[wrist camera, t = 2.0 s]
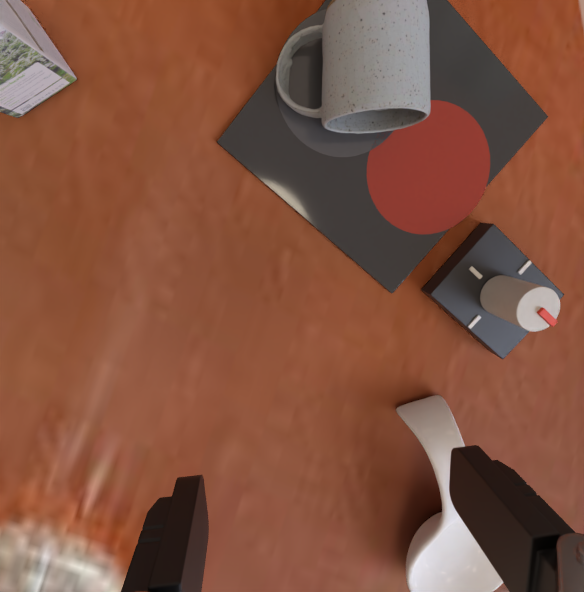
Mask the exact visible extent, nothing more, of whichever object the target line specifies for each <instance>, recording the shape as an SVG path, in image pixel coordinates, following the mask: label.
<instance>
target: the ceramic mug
mask: <svg viewBox="0 0 584 592" xmlns="http://www.w3.org/2000/svg"><path fill="white" fill-rule="evenodd" d="M320 38H322V52H323V71H322V106H321V107H320V108H319V109H310V108H306V107H303V106H300V105H298V104H296V103H294V102H293V100H291V99H290V95H289V74H290V68H291V66H292V59H291V58H292V56H293V54H294V53H295V52H296V51H297V50H298V49H299V48H300V47H301V46H303V45H304V44H307V43H308V42H310V41H313V40H316V39H320ZM276 84H277V89H278V92H279V94H280V96H281V98H282V100H283V101H284V102H285V103H286V104H287V105H288V106H289V107H291V108H292V109H293V110H294V111H296V112H297V113H299V114H301V115H304V116H308V117H313V118H321V119H322V125H323V127H324V128H325V129H327V130H331V131H334V132H340V133H356V134H360V133H375V132H384V131H392V130H397V129H402V128H405V127H408V126H412V125H414V124H417V123H419V122H421V121H423V120H425V119H426V118H427V117H428V116H429V114H430V109H431V103H430V44H429V11H428V6H427V0H332V1H331V2H330V3H329V5H328V7H327V10H326V15H325V21H324V23H323V25H315V26H310V27H308V28H305V29H302V30H301V31H299V32H298V33H296V34H294V35H293V36H292V37H291V38H290V39H289V40H288V41H287V43H286V44H285V45H284V47H283V49H282V51H281V52H280V55H279V58H278V62H277V67H276Z"/></svg>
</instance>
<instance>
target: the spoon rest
mask: <svg viewBox="0 0 584 592" xmlns="http://www.w3.org/2000/svg"><path fill="white" fill-rule="evenodd" d="M396 412H397V413H398V415H399V416H400V417H401V418H402V420H403V421H404V422H405V423H406V424H407V426H408V427H409V428H410V429H411V430H412V432H413V433H414V434H415V435H416V437H417V438H418V440H419V441H420V443H421V444H422V446H423V448H424V449H425V451H426V453H427V455H428V457H429V460H430V462H431V464H432V467H433V470H434V472H435V476H436V479H437V482H438V486H439V489H440V495H441V501H442V512H440V513H437V514H435V515H433V516H432V517H430V518H429V519H428V520H427V521H425V522H424V523H423V524H422V525H421V527H420V528H419V529H418V530H417V532H416V533H415V535H414V537H413V539H412V541H411V544H410V546H409V550H408V554H407V559H406V580H407V585H408V588H409V590H410V592H493V591H494V590H496V589H497V588H498V587H499V586H500V585H501V584H502V583H503V581H502V579H501V578H500V576H499V575H498V573H497V572H496V570H495V569H494V567H493V566H492V564H491V563H490V561H489V560H488V558H487V557H486V555H485V554H484V552H483V551H482V549H481V548H480V546H479V545H478V543H477V542H476V540H475V539H474V537H473V536H472V534H471V533H470V531H469V530H468V528H467V527H466V525H465V524H464V522H463V521H462V519H461V518H460V516H459V515H458V513H457V512H456V510H455V508H454V506H453V504H452V501H451V498H450V493H449V480H450V461H451V451H452V449H453V448H456V447H465V445H464V442H463V439H462V437H461V434H460V431H459V429H458V427H457V424H456V422H455V419H454V417H453V414H452V413H451V410H450V408H449V407H448V405H447V403H446V402H445V400H444V399H443V397H442V396H440V395H435V396H431V397H428V398H424V399H421V400H417V401H414V402H410V403H407V404H404V405H402V406H399V407H398V408H397V409H396Z"/></svg>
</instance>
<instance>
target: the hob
mask: <svg viewBox="0 0 584 592" xmlns="http://www.w3.org/2000/svg"><path fill="white" fill-rule="evenodd" d="M331 1H332V0H325V2H324V3H323V4H322V6H321V7H320V8H319V10H318V11H317V12H316V13H315V14H313V15H311V16H310V17H308V18H307V19H305V20H304V21H303V22H302V23H301V24H299V25H298V26H297V28H296V29H295V30H294V31H293V32H292V33H291V35H290V36H289V38H288V39H287V41H288V40H289V39H290V38H291V37H292V36H293V35H294V34H296V33H298V32H299V31H301V30H302V29H305V28H308V27H310V26H315V25H323V23H324V21H325V15H326V10H327V7H328V5H329V3H330V2H331ZM427 6H428V11H429V44H430V103H431V109H430V114H429V116H428V117H427V118H426V119H425V120H423V121H421V122H419V123H417V124H414V125H412V126H408V127H405V128H402V129H397V130H392V131H384V132H375V133H360V134H356V133H340V132H334V131H331V130H327V129H325V128H324V127H323V125H322V119H321V118H313V117H308V116H304V115H301V114H299V113H297V112H296V111H294V110H293V109H292V108H291V107H289V106H288V105H287V104H286V103H285V102H284V101H283V100H282V98H281V96H280V94H279V92H278V89H277V84H276V67H277V64H276V66H275V67H274V68H273V70H272V71H271V72H270V73H269V75H268V76H267V77H266V79H265V80H264V81H263V83H262V84H261V85H260V86H259V88H258V89H257V90H256V92H255V93H254V94H253V96H252V97H251V98H250V99H249V101H248V102H247V103H246V105H245V106H244V107H243V109H242V110H241V111H240V113H239V114H238V115H237V116H236V118H235V119H234V120H233V122H232V123H231V124H230V126H229V127H228V128H227V129H226V131H225V132H224V133H223V135H222V136H221V137H220V139H219V140H218V141H217V143H218V144H219V145H221V146H222V147H223V148H224V149H225V150H226V151H227V152H229V153H230V154H231V155H232V156H233V157H234V158H236V159H237V160H238V161H239V162H240V163H241V164H242V165H244V166H245V167H246V168H247V169H248V170H249V171H251V172H252V173H253V174H254V175H255V176H256V177H258V178H259V179H260V180H261V181H262V182H263V183H264V184H266V185H267V186H268V187H269V188H270V189H271V190H273V191H274V192H275V193H276V194H277V195H278V196H280V197H281V198H282V199H283V200H284V201H285V202H286V203H288V204H289V205H290V206H291V207H292V208H293V209H295V210H296V211H297V212H298V213H299V214H300V215H301V216H303V217H304V218H305V219H306V220H307V221H308V222H310V223H311V224H312V225H313V226H314V227H315V228H317V229H318V230H319V231H320V232H321V233H322V234H323V235H325V236H326V237H327V238H328V239H329V240H330V241H332V242H333V243H334V244H335V245H336V246H337V247H338V248H340V249H341V250H342V251H343V252H344V253H345V254H347V255H348V256H349V257H350V258H351V259H352V260H354V261H355V262H356V263H357V264H358V265H359V266H360V267H362V268H363V269H364V270H365V271H366V272H367V273H369V274H370V275H371V276H372V277H373V278H374V279H376V280H377V281H378V282H379V283H380V284H381V285H382V286H384V287H385V288H386V289H387V290H388V291H389V292H391V293H393V292H394V291H395V290H396V289H397V288H398V286H399V285H400V284H401V283H402V282H403V281H404V280H405V278H406V277H407V276H408V275H409V274H410V273H411V272H412V271H413V269H414V268H415V267H416V266H417V265H418V264H419V263H420V261H421V260H422V259H423V258H424V257H425V256H426V255H427V254H428V252H429V251H430V250H431V249H432V248H433V247H434V246H435V244H436V243H437V242H438V241H439V240H440V239H441V238H442V236H443V235H444V234H445V233H446V232H447V231H448V230H449V229H450V228H451V227H453V226H455V225H456V224H458V223H460V222H461V221H462V220H463V219H465V218H466V217H467V216H468V215H469V214H470V213H471V212H472V210H473V209H474V208H475V207H476V205H477V204H478V202H479V201H480V199H481V197H482V195H483V193H484V191H485V188H486V187H487V185H488V184H489V183H490V182H491V181H492V180H493V179H494V177H495V176H496V175H497V174H498V173H499V172H500V171H501V170H502V168H503V167H504V166H505V165H506V164H507V163H508V162H509V160H510V159H511V158H512V157H513V156H514V155H515V154H516V152H517V151H518V150H519V149H520V148H521V147H522V146H523V145H524V143H525V142H526V141H527V140H528V139H529V138H530V137H531V135H532V134H533V133H534V132H535V131H536V130H537V129H538V127H539V126H540V125H541V124H542V123H543V122H544V121H545V120H546V118H547V117H548V116H547V115H546V114H545V112H544V111H543V110H542V109H541V108H540V107H539V106H538V104H537V103H536V102H535V101H534V100H533V99H532V97H531V96H530V95H529V94H528V93H527V92H526V91H525V89H524V88H523V87H522V86H521V85H520V84H519V82H518V81H517V80H516V79H515V78H514V77H513V76H512V74H511V73H510V72H509V71H508V70H507V69H506V67H505V66H504V65H503V64H502V63H501V62H500V61H499V59H498V58H497V57H496V56H495V55H494V54H493V52H492V51H491V50H490V49H489V48H488V47H487V46H486V44H485V43H484V42H483V41H482V40H481V39H480V37H479V36H478V35H477V34H476V33H475V32H474V31H473V29H472V28H471V27H470V26H469V25H468V24H467V23H466V21H465V20H464V19H463V18H462V17H461V16H460V14H459V13H458V12H457V11H456V10H455V9H454V8H453V6H452V5H451V4H450V3H449V2H448V1H447V0H427ZM287 41H286V43H287ZM286 43H285V44H286ZM291 59H292V66H291V68H290V74H289V95H290V99H291V100H293V102H294V103H296V104H298V105H300V106H303V107H306V108H310V109H319V108H320V107H321V106H322V71H323V52H322V38H320V39H316V40H313V41H310V42H308V43H307V44H304V45H303V46H301V47H300V48H299V49H298V50H297V51H296V52H295V53H294V54H293V56H292V58H291Z"/></svg>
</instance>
